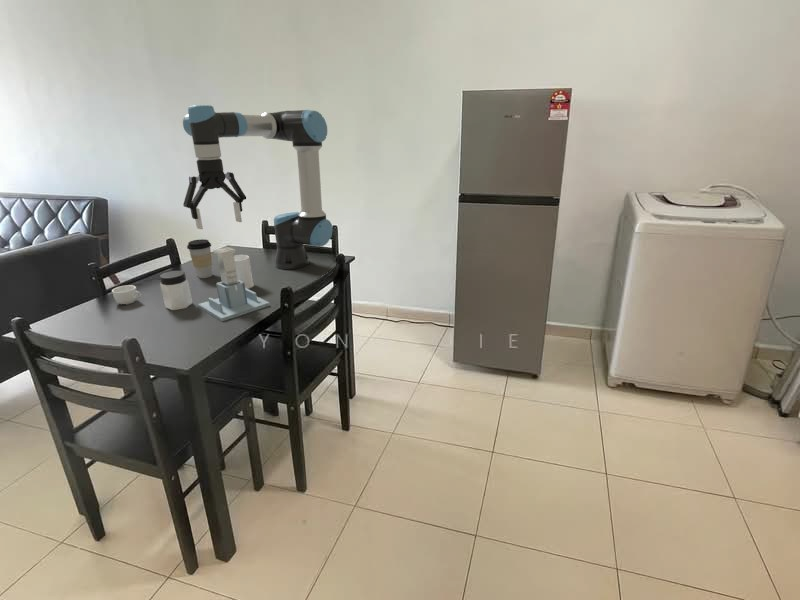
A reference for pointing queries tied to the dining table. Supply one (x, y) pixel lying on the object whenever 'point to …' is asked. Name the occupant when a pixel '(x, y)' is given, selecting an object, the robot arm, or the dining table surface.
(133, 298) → the teacup
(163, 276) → the jar
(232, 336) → the dining table surface
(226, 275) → the column
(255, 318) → the dining table surface
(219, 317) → the stand base
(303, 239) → the robot arm
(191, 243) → the coffee cup
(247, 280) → the mug
